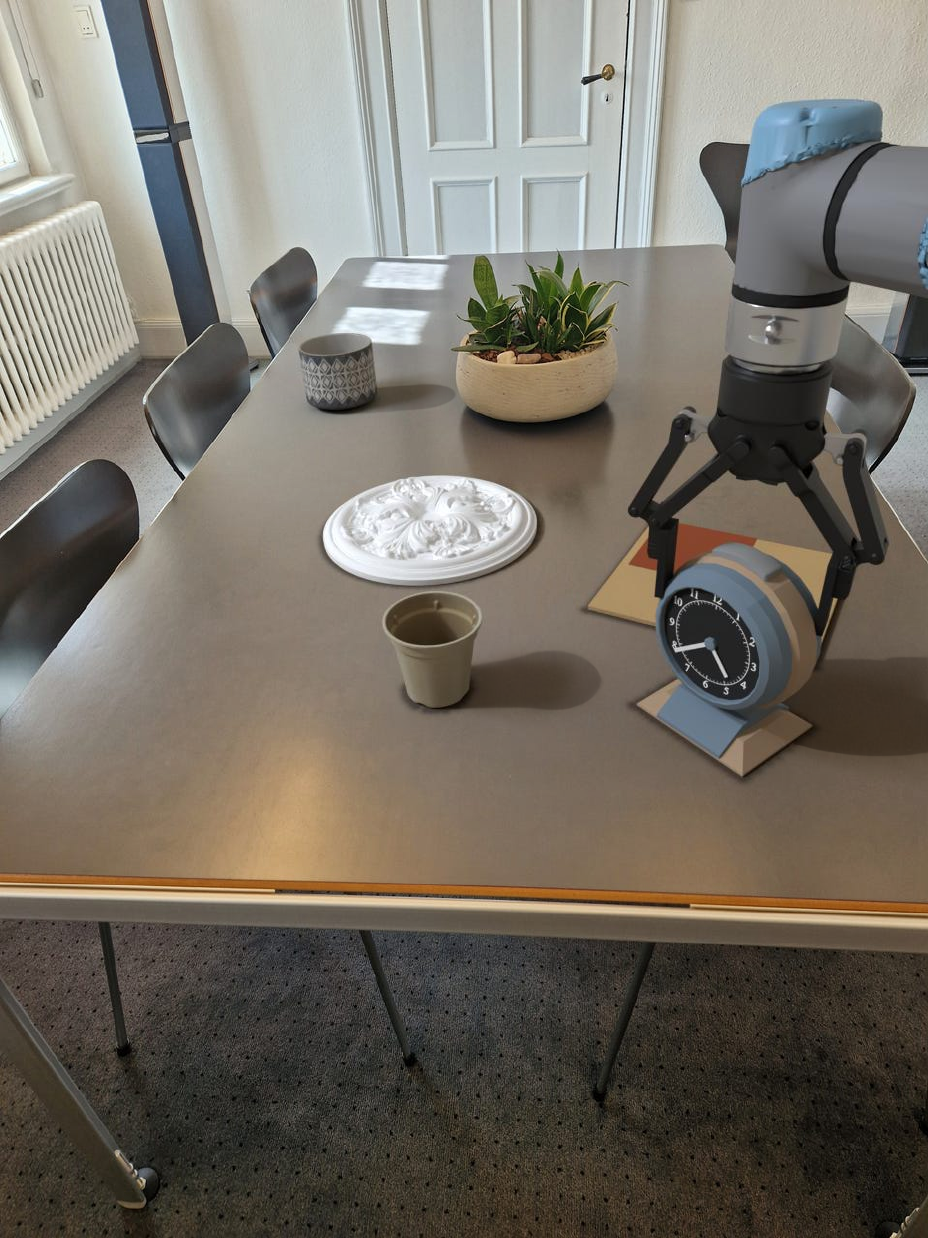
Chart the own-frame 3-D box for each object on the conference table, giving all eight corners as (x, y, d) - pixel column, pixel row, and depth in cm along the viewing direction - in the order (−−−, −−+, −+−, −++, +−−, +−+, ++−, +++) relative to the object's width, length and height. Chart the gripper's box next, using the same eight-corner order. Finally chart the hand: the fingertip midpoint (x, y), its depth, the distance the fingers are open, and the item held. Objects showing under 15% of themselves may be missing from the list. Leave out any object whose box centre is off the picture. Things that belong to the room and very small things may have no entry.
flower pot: (446, 648, 90) (440, 579, 85) (505, 689, 84) (503, 617, 79) (373, 687, 85) (362, 616, 80) (430, 734, 79) (422, 660, 74)
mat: (851, 562, 99) (852, 556, 99) (813, 666, 84) (814, 661, 84) (653, 522, 110) (654, 517, 109) (587, 609, 94) (587, 604, 94)
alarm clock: (629, 700, 82) (640, 539, 71) (697, 659, 86) (717, 502, 76) (751, 783, 72) (785, 611, 62) (821, 732, 76) (863, 564, 66)
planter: (374, 413, 147) (366, 353, 141) (301, 416, 148) (291, 356, 142) (381, 388, 157) (375, 331, 151) (314, 391, 158) (305, 334, 152)
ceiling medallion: (280, 559, 107) (276, 538, 105) (391, 470, 127) (389, 450, 126) (480, 605, 96) (479, 581, 95) (567, 499, 117) (568, 478, 115)
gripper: (594, 354, 63) (586, 596, 75) (971, 397, 52) (890, 671, 64) (630, 325, 68) (617, 556, 80) (979, 359, 57) (902, 619, 69)
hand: (738, 608), depth 72 cm, fingers closed on alarm clock, 12 cm apart
